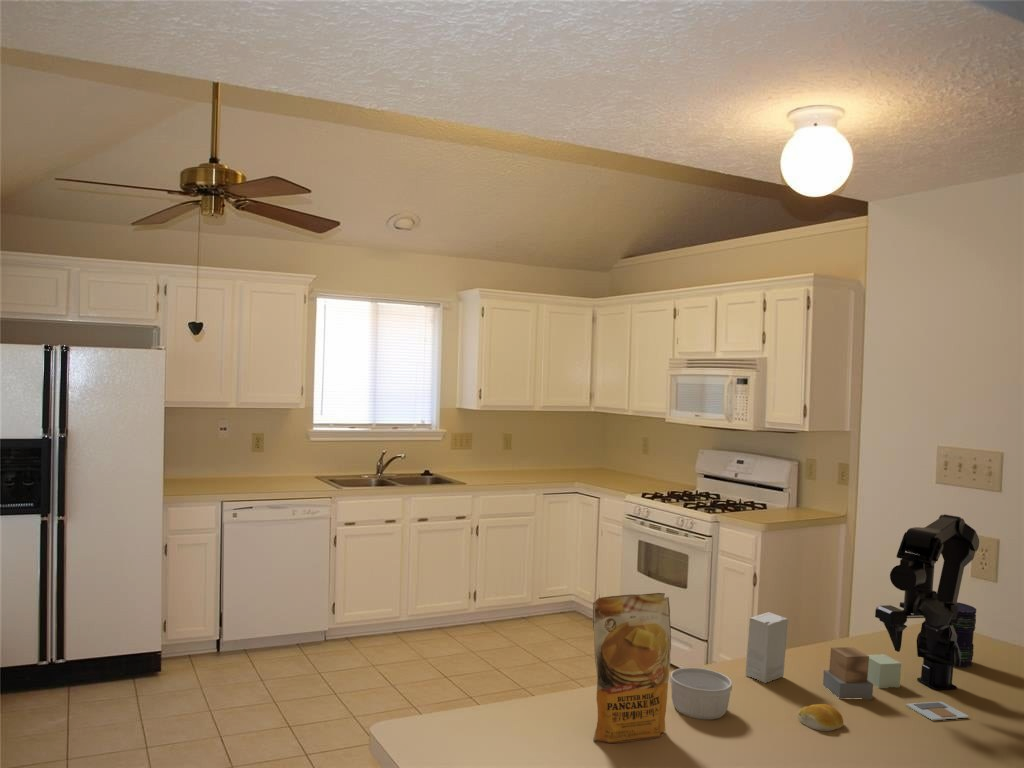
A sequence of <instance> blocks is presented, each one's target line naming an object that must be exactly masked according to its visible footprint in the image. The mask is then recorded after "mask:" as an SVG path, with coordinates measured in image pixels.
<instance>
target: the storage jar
mask: <svg viewBox="0 0 1024 768" xmlns="http://www.w3.org/2000/svg"><path fill="white" fill-rule="evenodd" d="M956 605H957V607H958V623H953V627H954V629H955V632H956V634H957V644H958V646H959V649H960V652H961V662H960V666H954V667H953V668H960V669H963V668H964V669H965V668H967V669H969V668H971V667H972V665H973V661H972V660H973V657H974V647H975V645H974V634H975V633H974V632H975V631H976V623H977V615H976V613H977V608H975V607H974V606H972V605H969V604H966V603H962V602H958V601H957V604H956Z"/></svg>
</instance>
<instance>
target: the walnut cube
mask: <svg viewBox="0 0 1024 768" xmlns="http://www.w3.org/2000/svg"><path fill="white" fill-rule="evenodd" d="M868 655H869V654H866V653H864V652H862V651H861V650H858V649H857V648H855V647H853V646H851V647H850V646H849V647H848V646H847V647H843V646H842V647H831V648H830V656H829V657H830V658H829V666H828V667H829V668H828V669H829V673H831V674H832V675H834V676H835V677H837V678H839V679H840V680H842V681H843V682H867V678H868V665H869V656H868Z"/></svg>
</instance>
